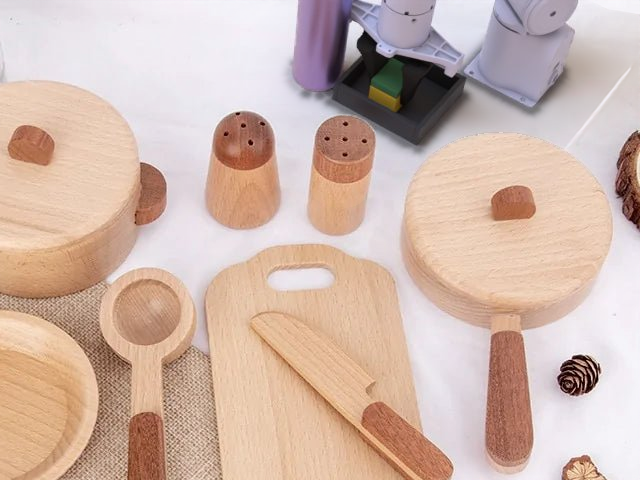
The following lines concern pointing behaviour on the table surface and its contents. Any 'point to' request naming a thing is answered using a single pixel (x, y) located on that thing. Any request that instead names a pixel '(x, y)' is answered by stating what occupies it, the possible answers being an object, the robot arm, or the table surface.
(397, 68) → the sponge
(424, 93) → the tray
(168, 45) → the table surface
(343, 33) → the beverage can
